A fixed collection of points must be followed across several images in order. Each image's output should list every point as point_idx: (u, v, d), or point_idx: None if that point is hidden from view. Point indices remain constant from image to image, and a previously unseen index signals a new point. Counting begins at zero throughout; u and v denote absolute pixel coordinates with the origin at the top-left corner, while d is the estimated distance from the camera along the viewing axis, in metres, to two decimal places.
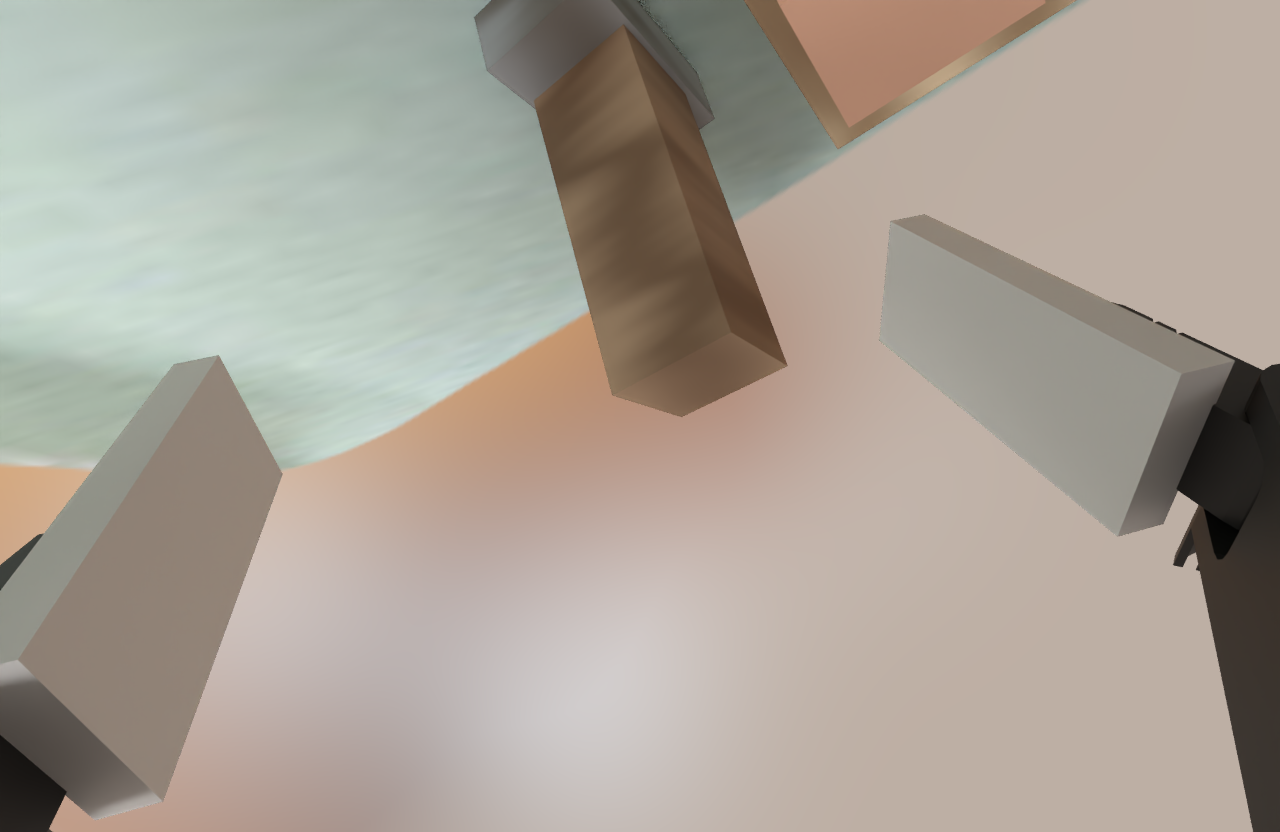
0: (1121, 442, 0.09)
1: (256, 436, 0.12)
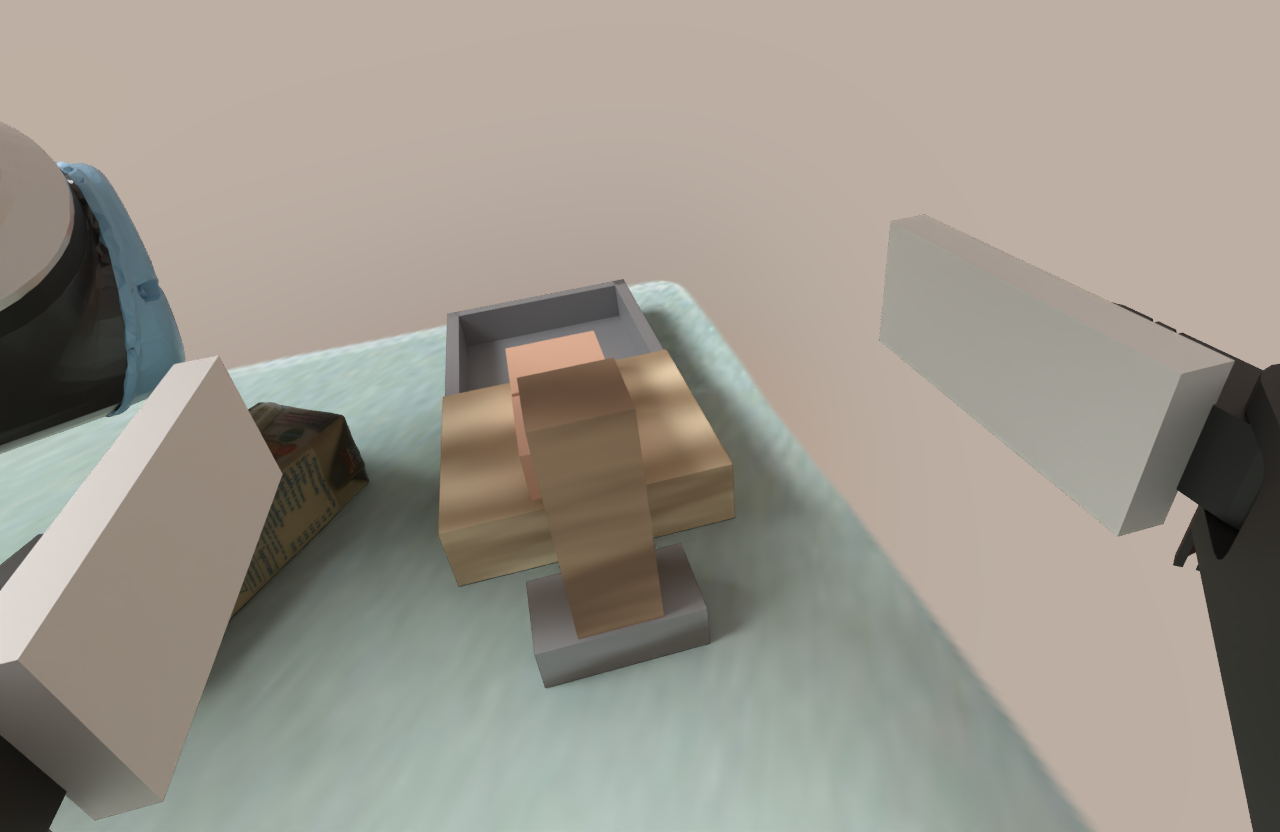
0: (1121, 442, 0.09)
1: (256, 436, 0.12)
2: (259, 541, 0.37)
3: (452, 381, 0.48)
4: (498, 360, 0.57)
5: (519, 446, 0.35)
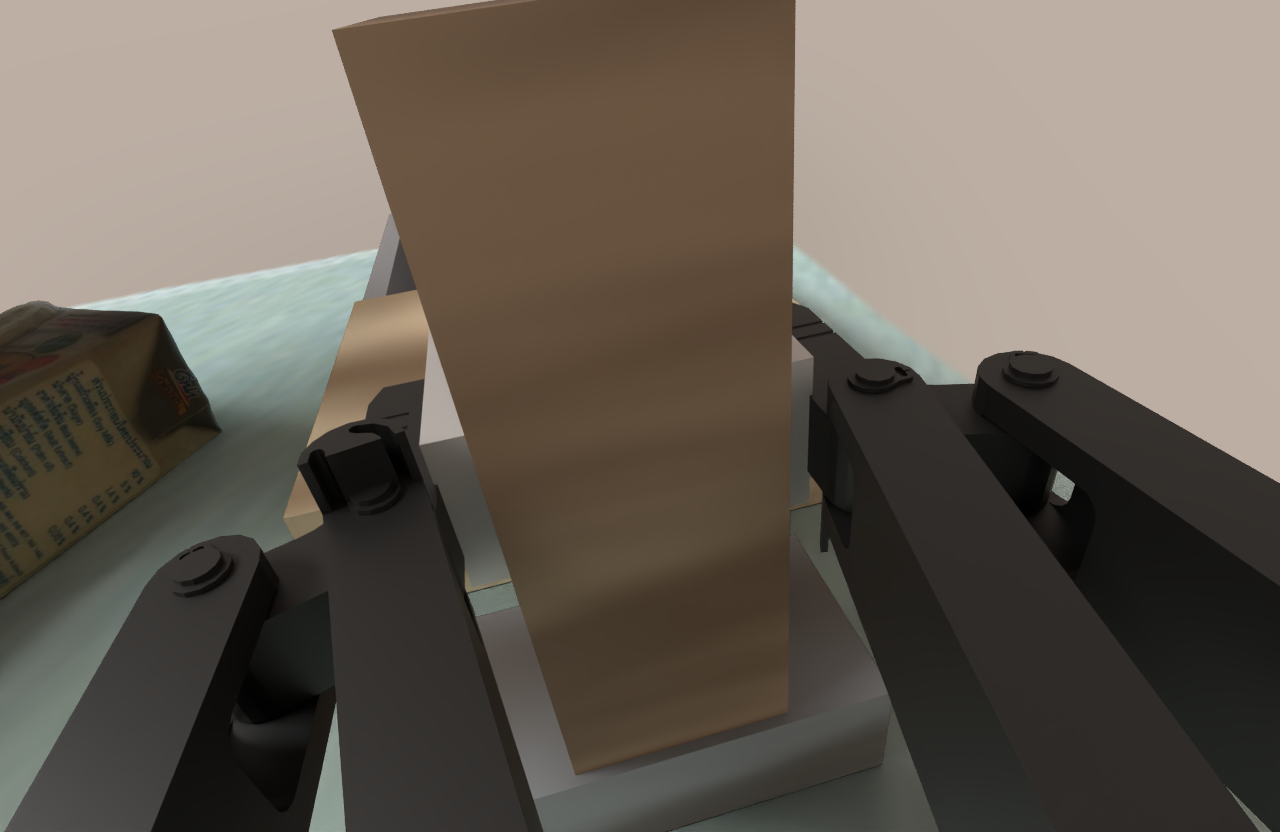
0: None
1: None
2: None
3: (378, 286, 0.30)
4: None
5: None
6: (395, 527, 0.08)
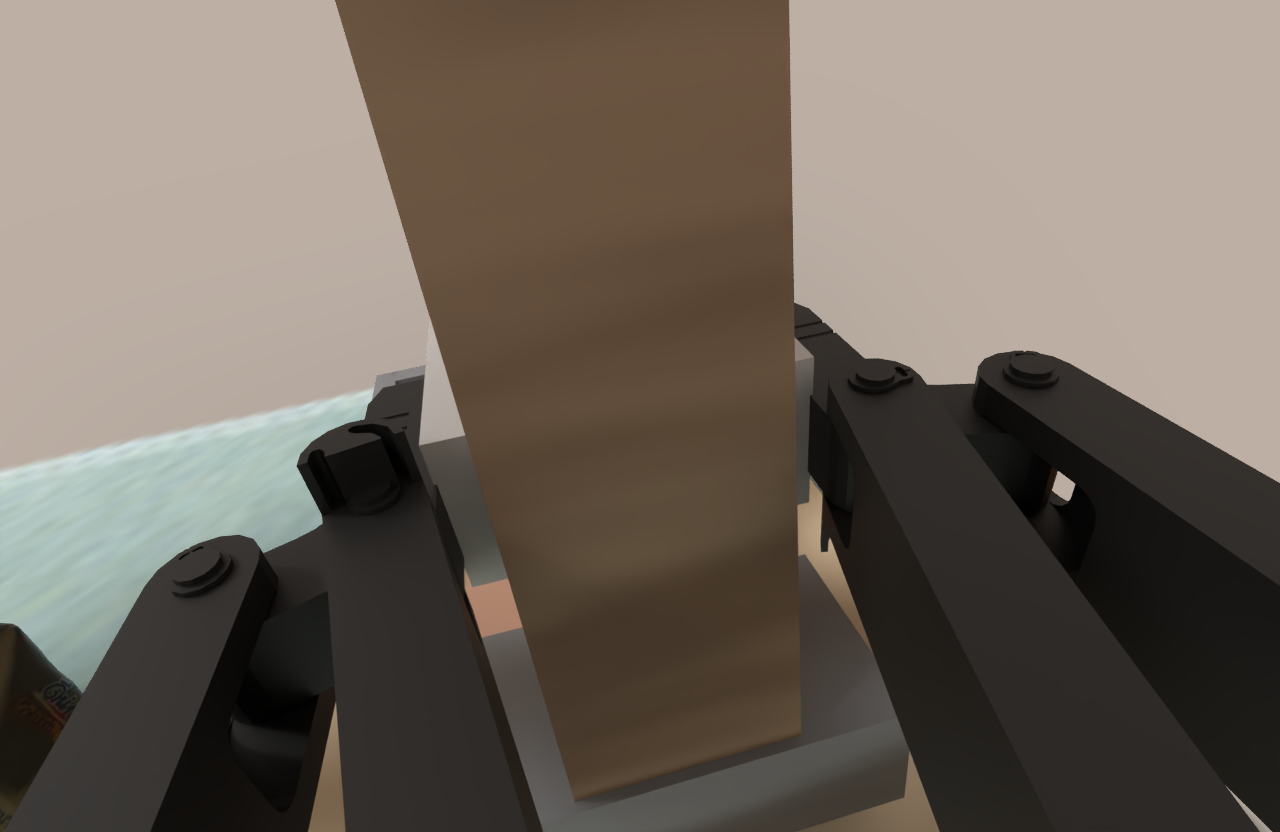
0: None
1: None
2: None
3: None
4: None
5: None
6: (395, 527, 0.08)
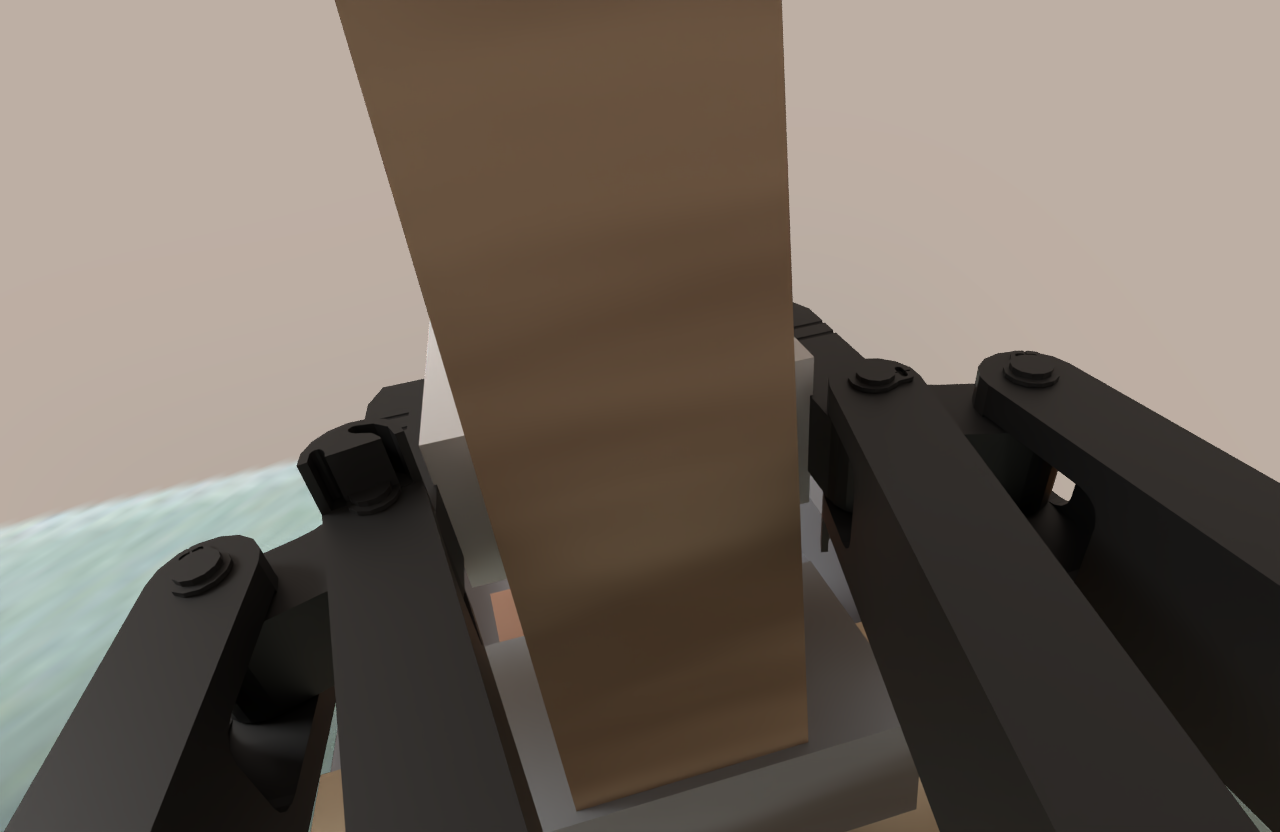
0: None
1: None
2: None
3: None
4: None
5: None
6: (395, 527, 0.08)
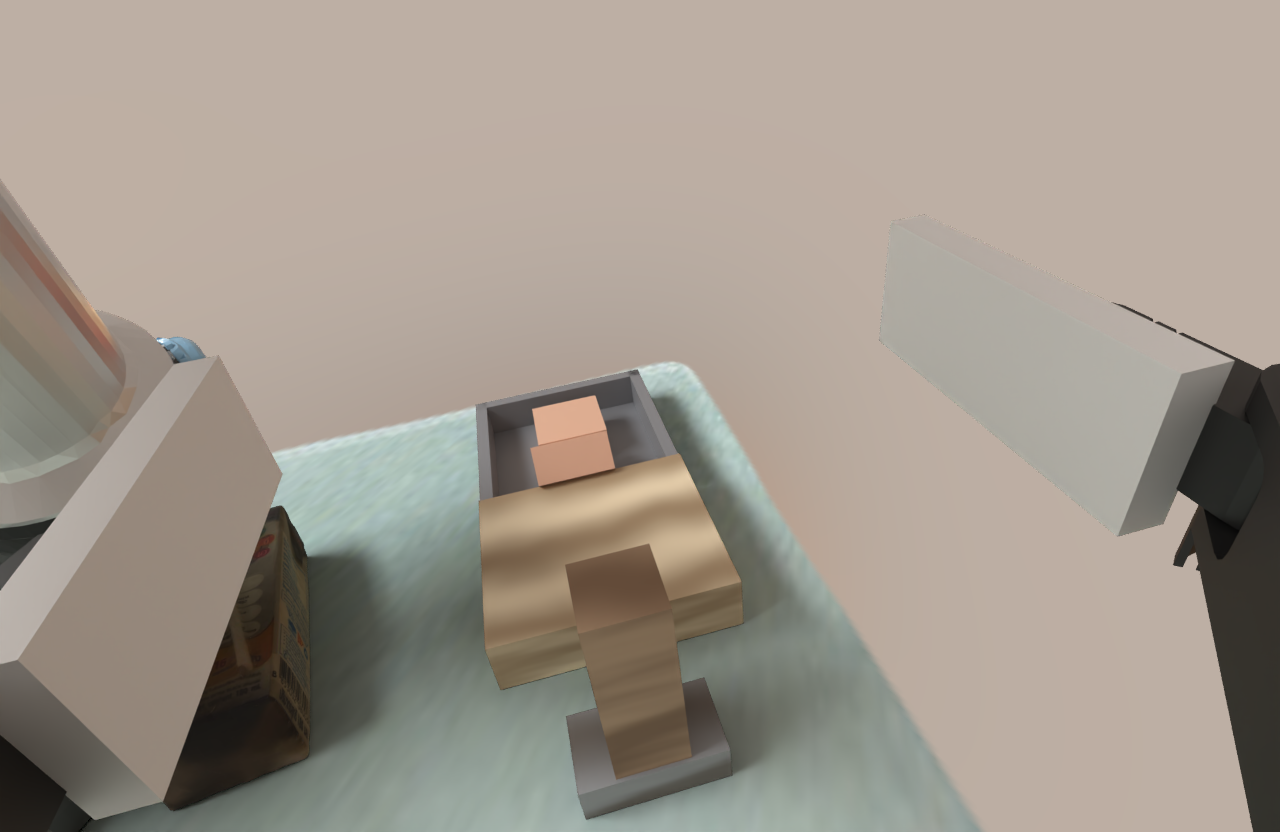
0: (1121, 442, 0.09)
1: (256, 436, 0.12)
2: (298, 605, 0.46)
3: (485, 482, 0.53)
4: (523, 450, 0.62)
5: None
6: None
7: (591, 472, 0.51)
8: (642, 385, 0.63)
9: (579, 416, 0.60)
